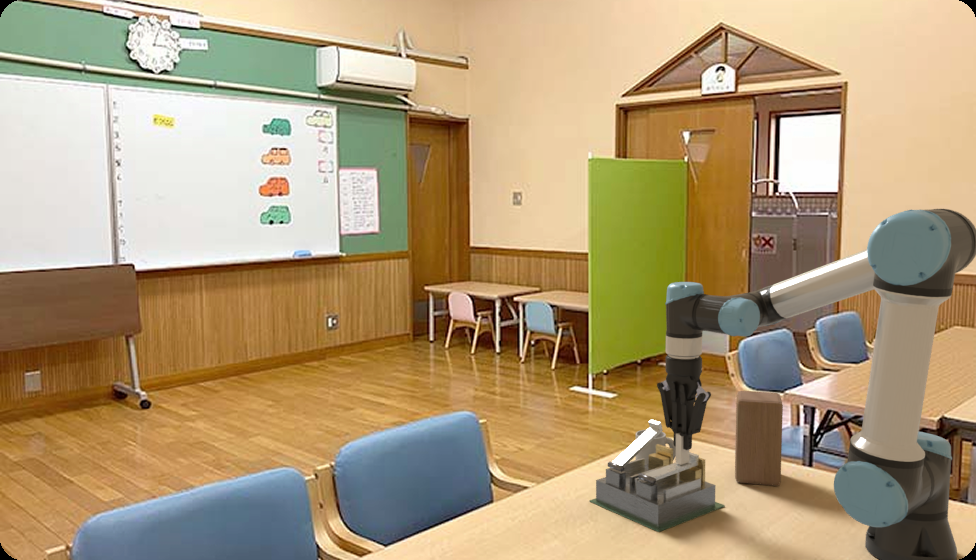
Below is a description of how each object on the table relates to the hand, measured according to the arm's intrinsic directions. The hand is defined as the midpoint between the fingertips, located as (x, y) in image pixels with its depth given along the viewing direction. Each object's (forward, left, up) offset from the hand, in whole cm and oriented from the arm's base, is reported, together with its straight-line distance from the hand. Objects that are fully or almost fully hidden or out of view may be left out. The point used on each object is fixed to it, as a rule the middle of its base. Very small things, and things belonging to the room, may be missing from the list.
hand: (682, 462), depth 170 cm
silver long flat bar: (+9, +5, +2) cm, 10 cm away
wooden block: (0, -27, -10) cm, 29 cm away
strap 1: (0, +4, -1) cm, 4 cm away
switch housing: (+4, +4, -10) cm, 11 cm away
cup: (+19, -13, -10) cm, 26 cm away
